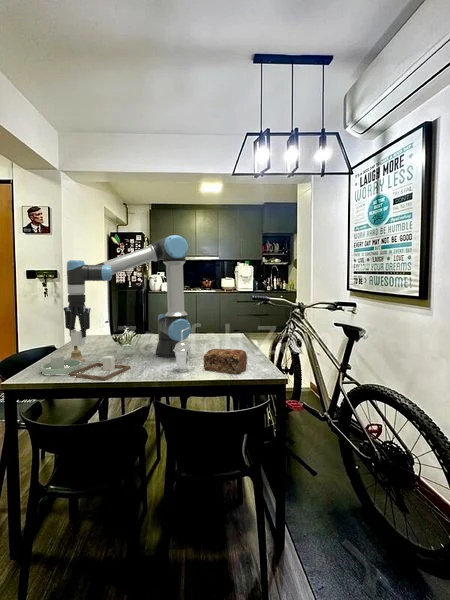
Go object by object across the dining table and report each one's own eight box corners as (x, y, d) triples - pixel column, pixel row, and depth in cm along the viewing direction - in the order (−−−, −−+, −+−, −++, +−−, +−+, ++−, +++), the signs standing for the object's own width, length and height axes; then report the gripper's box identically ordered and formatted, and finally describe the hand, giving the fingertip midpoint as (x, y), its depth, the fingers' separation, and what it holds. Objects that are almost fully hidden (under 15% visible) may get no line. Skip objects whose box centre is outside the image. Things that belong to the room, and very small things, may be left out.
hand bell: (78, 363, 182) (77, 333, 181) (64, 363, 184) (62, 332, 183) (88, 359, 191) (86, 330, 189) (74, 359, 192) (72, 329, 191)
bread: (247, 369, 169) (247, 348, 169) (238, 375, 160) (238, 353, 159) (213, 365, 178) (213, 345, 177) (202, 370, 168) (202, 349, 168)
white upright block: (114, 368, 174) (114, 356, 173) (111, 370, 170) (110, 358, 169) (107, 368, 174) (106, 355, 174) (103, 370, 170) (102, 357, 170)
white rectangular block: (64, 368, 172) (63, 356, 172) (57, 370, 168) (57, 358, 168) (57, 367, 173) (57, 355, 173) (51, 369, 170) (50, 357, 169)
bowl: (89, 367, 176) (89, 361, 175) (62, 377, 159) (62, 371, 159) (61, 364, 181) (61, 358, 181) (32, 374, 165) (32, 367, 165)
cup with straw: (170, 369, 170) (169, 328, 168) (188, 366, 174) (187, 326, 173) (177, 374, 162) (176, 330, 161) (195, 371, 167) (194, 328, 165)
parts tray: (130, 368, 172) (130, 365, 172) (104, 380, 154) (104, 377, 154) (97, 365, 178) (97, 362, 178) (68, 376, 161) (68, 373, 161)
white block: (84, 344, 168) (84, 331, 168) (79, 345, 164) (78, 332, 164) (76, 343, 169) (76, 331, 168) (71, 345, 165) (71, 332, 164)
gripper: (97, 293, 165) (99, 343, 167) (67, 293, 171) (68, 341, 173) (86, 294, 158) (88, 346, 160) (55, 294, 164) (57, 344, 166)
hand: (78, 343), depth 167 cm, fingers closed on white block, 4 cm apart
